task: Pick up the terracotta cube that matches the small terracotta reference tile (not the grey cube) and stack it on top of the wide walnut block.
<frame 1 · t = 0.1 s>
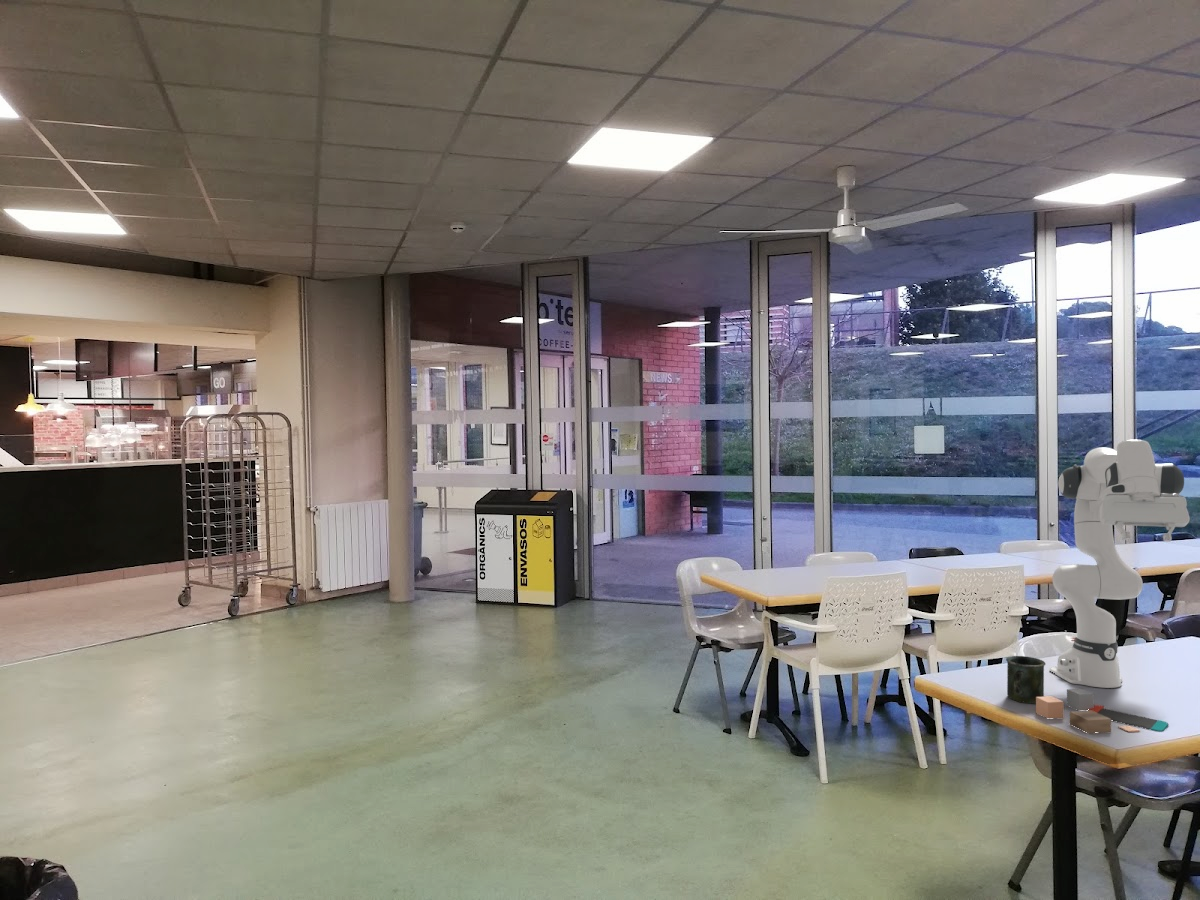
hand: (1146, 539, 214), 54 cm above the table, tool tilted 30°, fingers open, 8 cm apart
reference tile: (1128, 729, 223), on the table
walnut block: (1089, 729, 224), on the table
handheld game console: (1126, 721, 232), on the table, touching grey cube
terracotta cube: (1049, 716, 235), on the table
grey cube: (1080, 707, 242), on the table, touching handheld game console
mug: (1023, 700, 249), on the table
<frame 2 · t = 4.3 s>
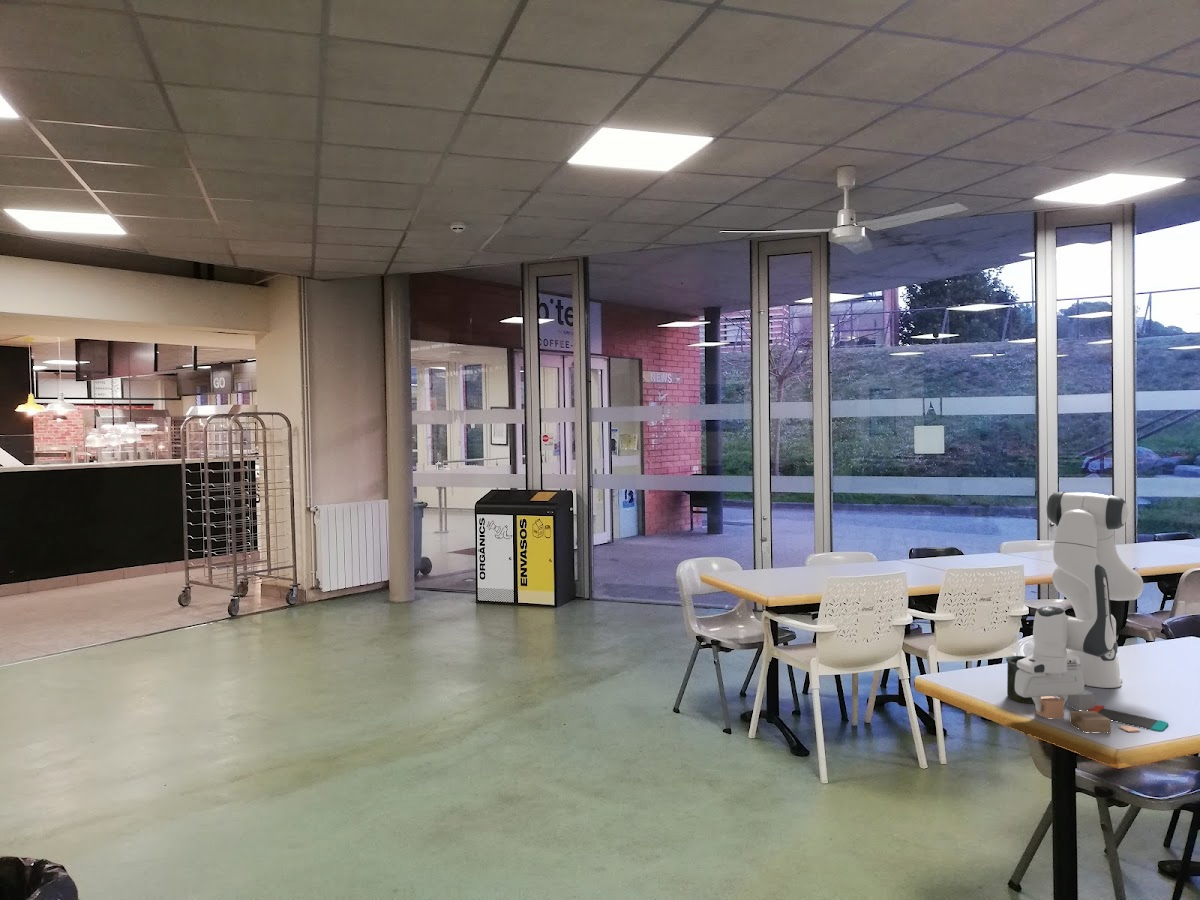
hand: (1049, 710, 235), 2 cm above the table, tool pointing down, fingers closed on terracotta cube, 5 cm apart
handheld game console: (1126, 721, 232), on the table
terracotta cube: (1049, 715, 235), on the table, touching gripper
grey cube: (1080, 708, 242), on the table
everything else where it was.
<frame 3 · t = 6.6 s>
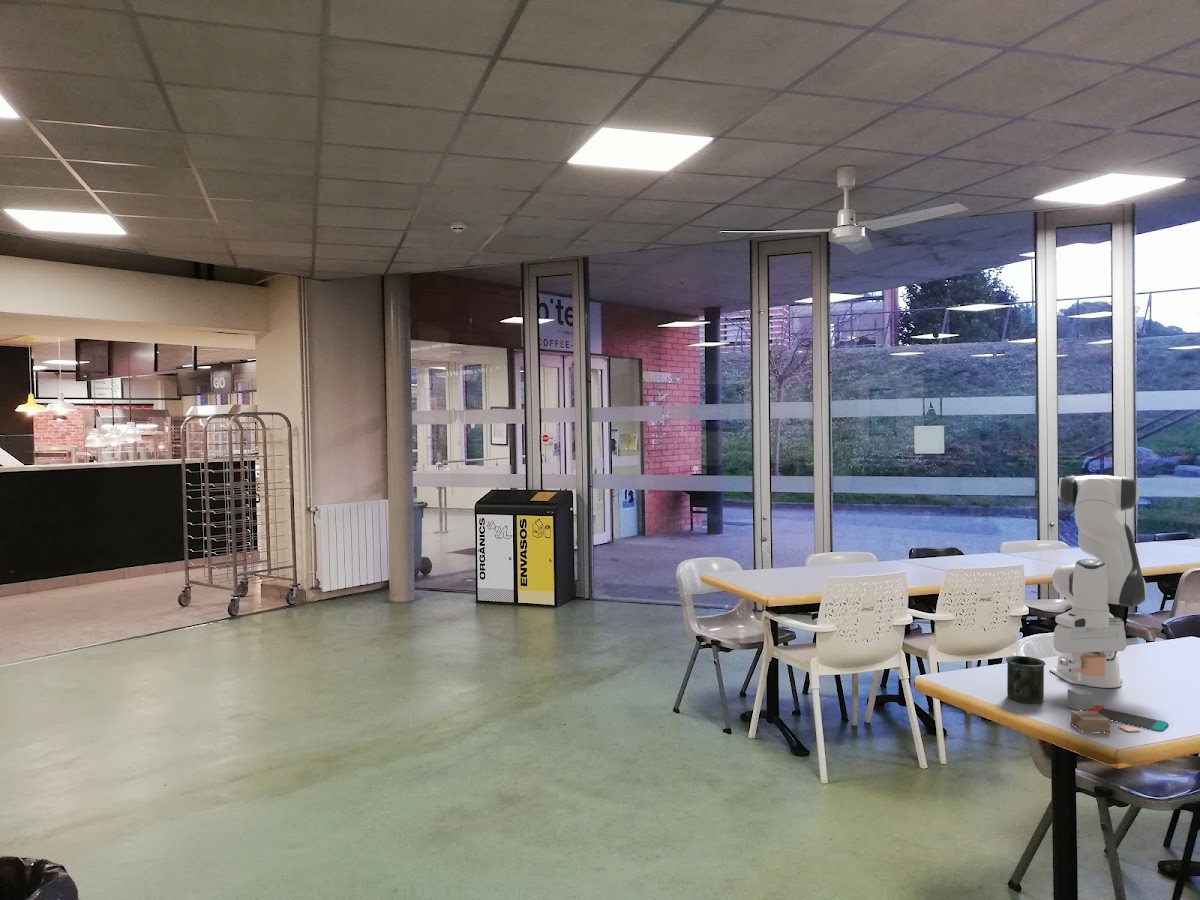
hand: (1089, 667, 224), 17 cm above the table, tool pointing down, fingers closed on terracotta cube, 5 cm apart
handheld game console: (1126, 721, 232), on the table, touching grey cube
terracotta cube: (1090, 673, 224), point 16 cm above the table, touching gripper
grey cube: (1081, 707, 242), on the table, touching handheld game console
everything else where it was.
when the fingers open (7 cm above the table, at t = 8.9 s): terracotta cube drops 1 cm, resting on walnut block.
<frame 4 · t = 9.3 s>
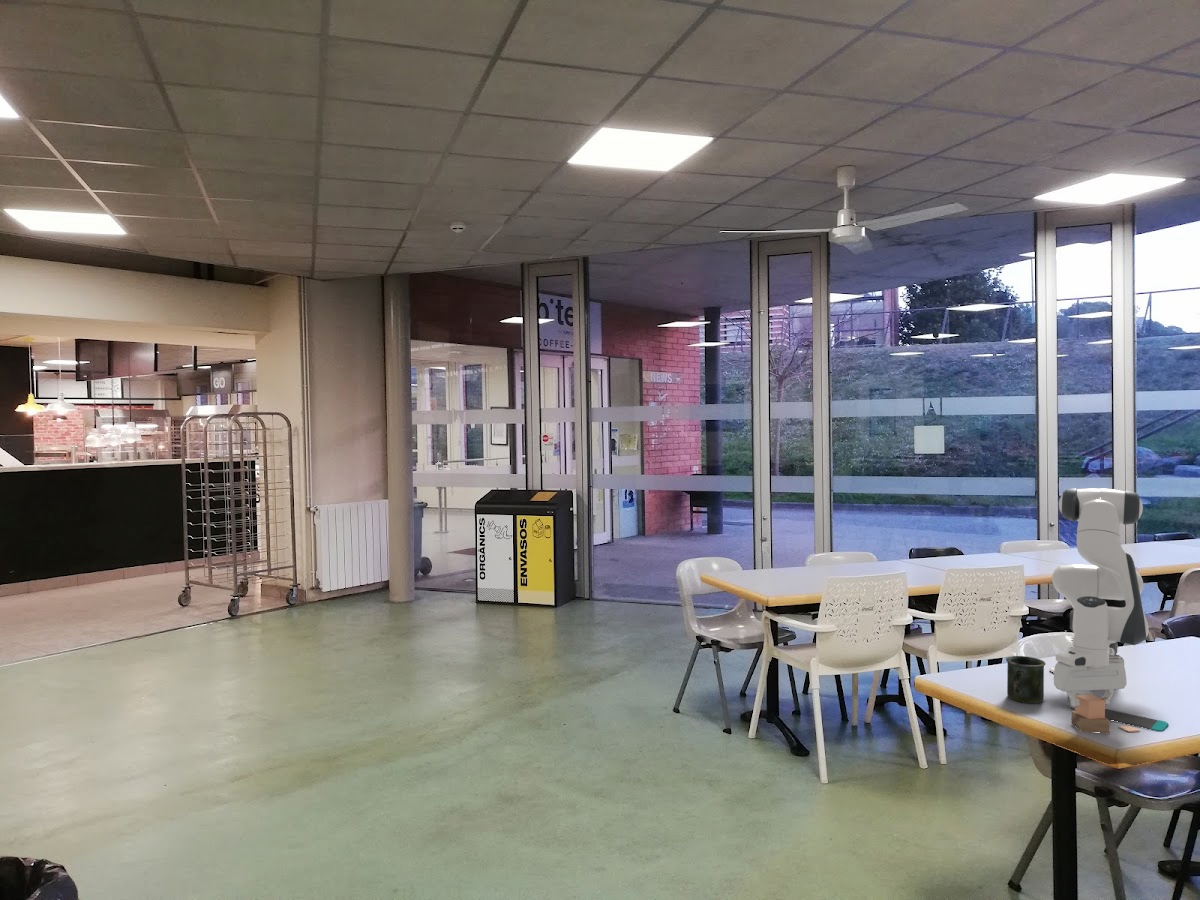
hand: (1090, 705, 224), 7 cm above the table, tool pointing down, fingers open, 8 cm apart
walnut block: (1090, 729, 224), on the table, touching terracotta cube
terracotta cube: (1089, 715, 224), point 4 cm above the table, touching walnut block
everything else where it was.
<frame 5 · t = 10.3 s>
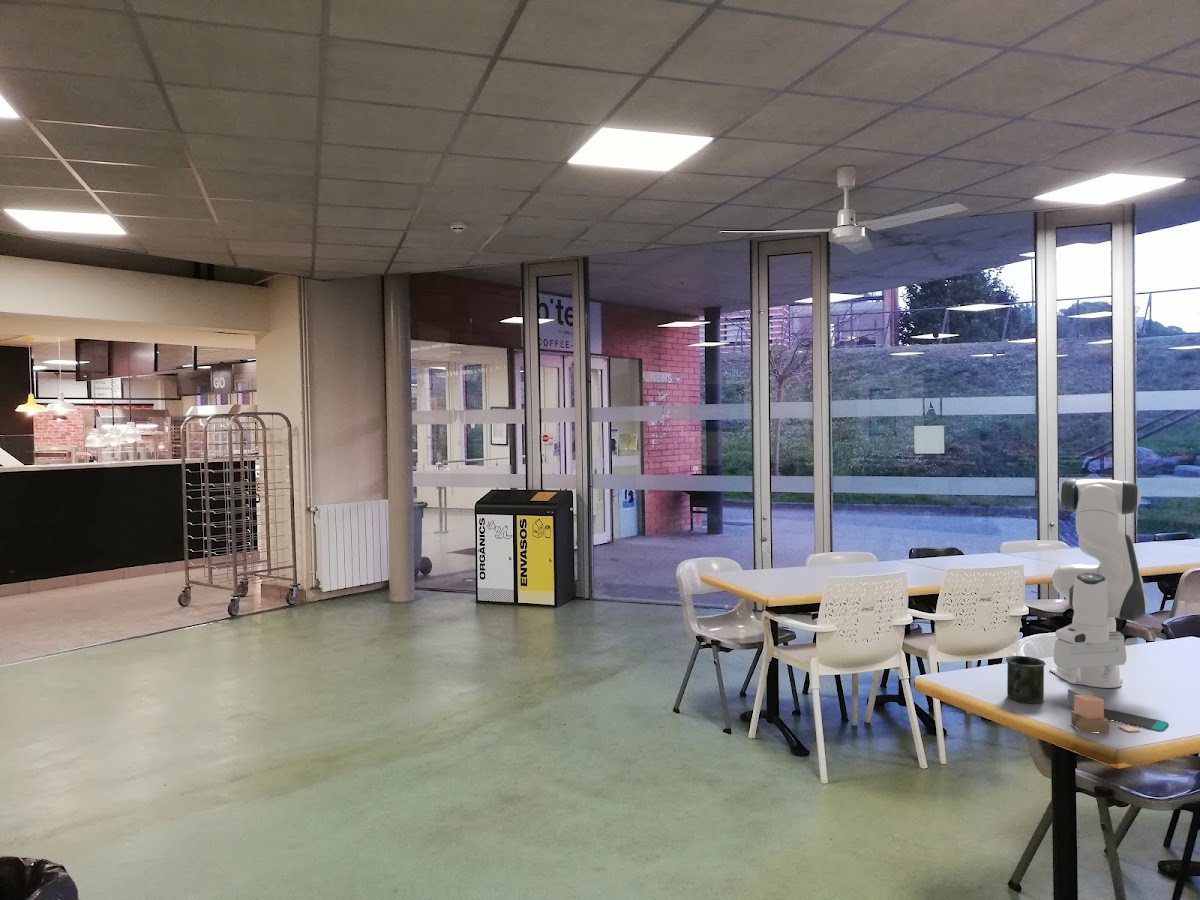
hand: (1090, 681, 225), 13 cm above the table, tool pointing down, fingers open, 8 cm apart
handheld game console: (1126, 721, 232), on the table
grey cube: (1081, 707, 241), on the table
everything else where it was.
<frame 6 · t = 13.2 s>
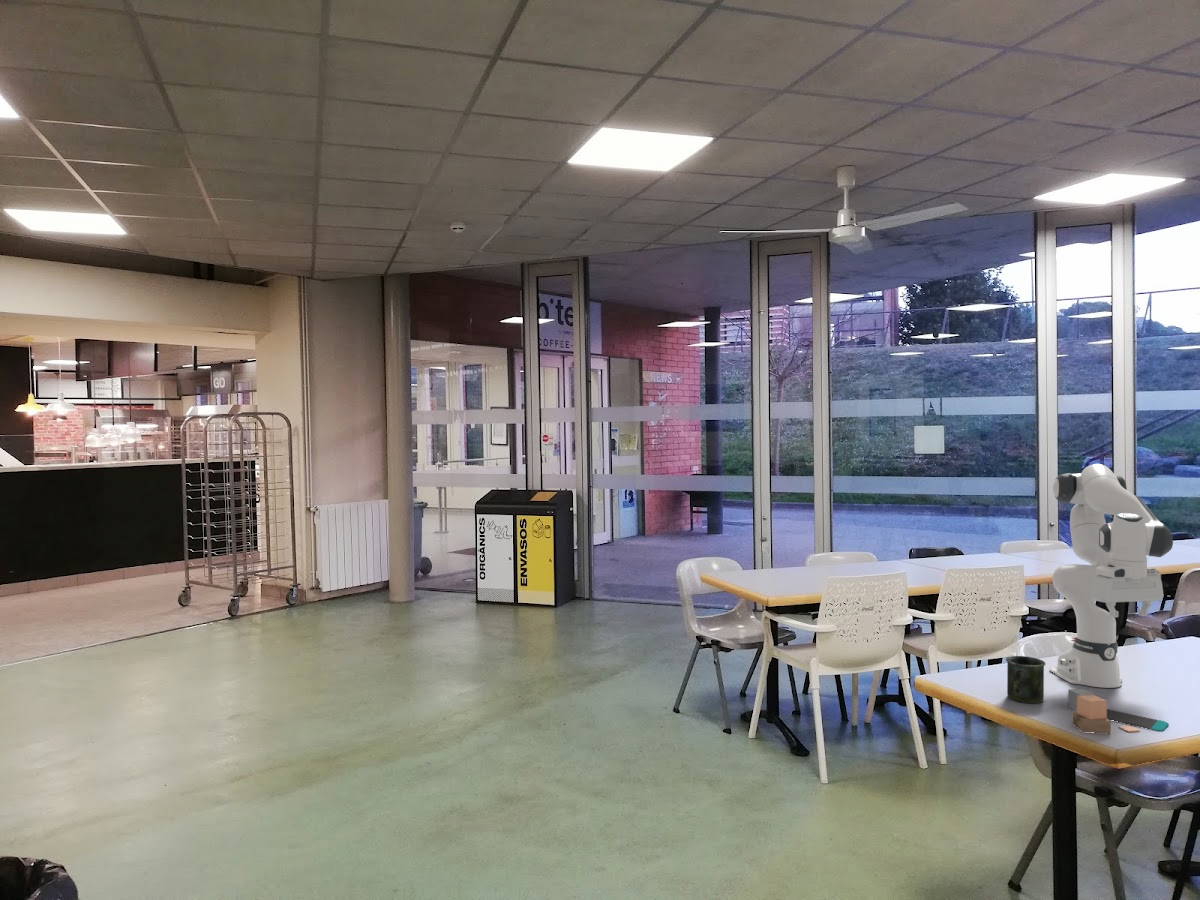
hand: (1128, 616, 235), 29 cm above the table, tool pointing down, fingers open, 8 cm apart
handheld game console: (1126, 721, 232), on the table, touching grey cube
grey cube: (1081, 708, 241), on the table, touching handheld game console
everything else where it was.
at the end: terracotta cube 0.2 cm off-centre on the walnut block, point 4.0 cm above the walnut block's base; the gripper is holding nothing; grey cube moved 0.5 cm from its start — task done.
